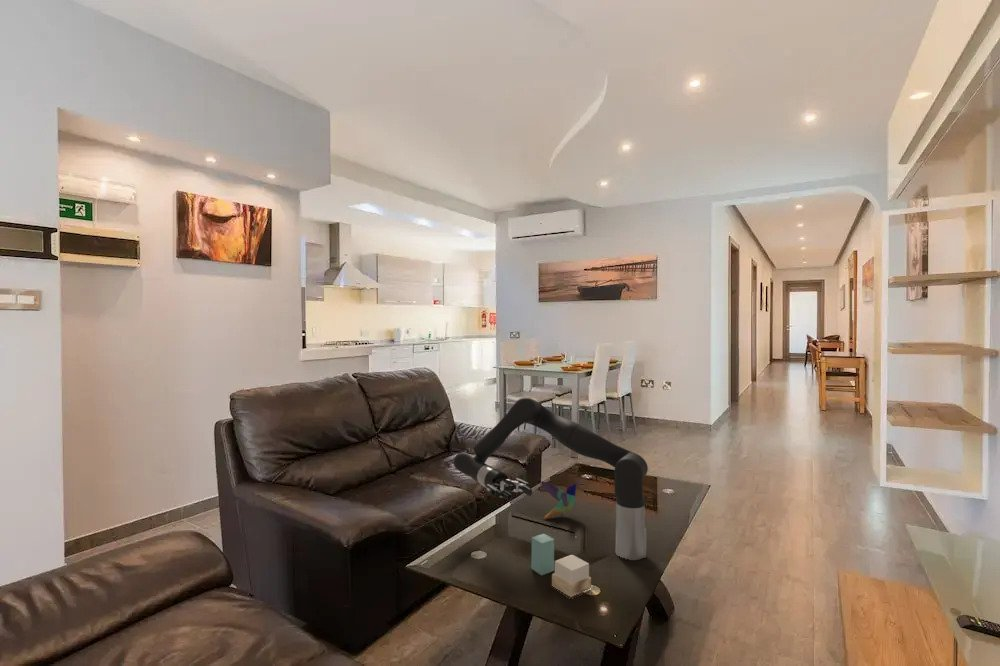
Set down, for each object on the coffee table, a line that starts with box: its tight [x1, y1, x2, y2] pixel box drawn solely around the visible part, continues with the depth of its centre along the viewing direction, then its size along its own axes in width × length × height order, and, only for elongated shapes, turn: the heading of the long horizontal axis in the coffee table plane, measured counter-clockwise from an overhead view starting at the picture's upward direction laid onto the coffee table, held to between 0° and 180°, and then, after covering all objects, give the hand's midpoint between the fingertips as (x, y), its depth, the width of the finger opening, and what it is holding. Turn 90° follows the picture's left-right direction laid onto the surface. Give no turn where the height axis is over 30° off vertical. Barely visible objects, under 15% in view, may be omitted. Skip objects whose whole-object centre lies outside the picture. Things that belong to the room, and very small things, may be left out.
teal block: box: [530, 533, 555, 576], centre depth 155 cm, size 5×5×10 cm
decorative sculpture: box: [540, 476, 585, 520], centre depth 197 cm, size 17×18×15 cm
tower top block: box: [554, 554, 590, 585], centre depth 144 cm, size 7×7×4 cm
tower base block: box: [551, 572, 592, 597], centre depth 144 cm, size 8×8×4 cm
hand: (521, 495), depth 163 cm, fingers open, 8 cm apart
